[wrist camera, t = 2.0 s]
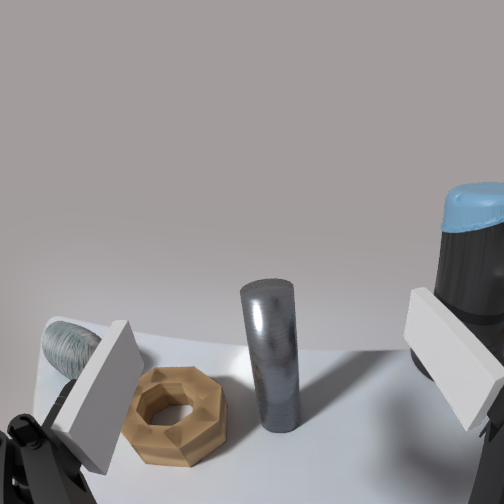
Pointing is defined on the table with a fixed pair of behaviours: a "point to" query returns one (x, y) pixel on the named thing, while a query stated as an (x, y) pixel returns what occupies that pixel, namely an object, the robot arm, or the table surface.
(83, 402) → the robot arm
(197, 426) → the brown thick faceted ring
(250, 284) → the rod
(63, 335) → the grey yarn skein
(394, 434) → the table surface
